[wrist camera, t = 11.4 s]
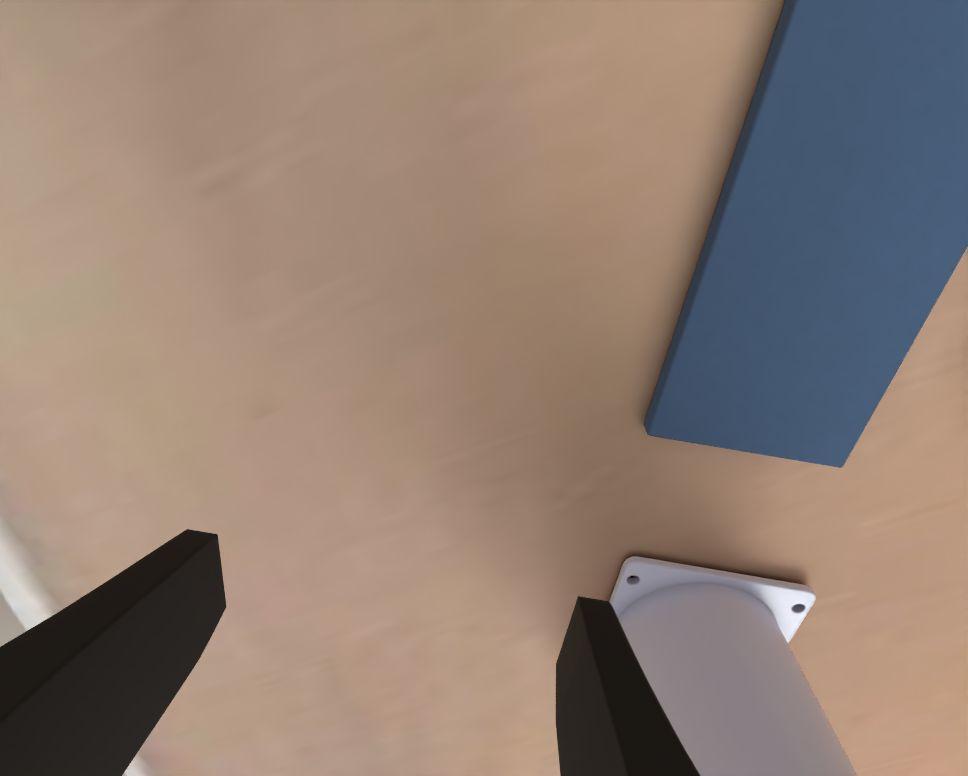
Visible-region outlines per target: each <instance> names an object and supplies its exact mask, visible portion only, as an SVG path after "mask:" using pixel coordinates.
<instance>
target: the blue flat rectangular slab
mask: <svg viewBox="0 0 968 776" xmlns="http://www.w3.org/2000/svg"><path fill="white" fill-rule="evenodd" d="M967 246H968V0H786V1H785V4H784V7H783V10H782V13H781V16H780V19H779V22H778V25H777V28H776V31H775V34H774V37H773V40H772V43H771V46H770V49H769V52H768V55H767V58H766V61H765V64H764V67H763V70H762V73H761V76H760V79H759V82H758V85H757V88H756V91H755V93H754V96H753V99H752V102H751V105H750V108H749V111H748V114H747V117H746V120H745V123H744V126H743V129H742V132H741V135H740V138H739V141H738V144H737V147H736V150H735V153H734V156H733V159H732V162H731V165H730V168H729V171H728V174H727V177H726V180H725V183H724V186H723V189H722V192H721V195H720V198H719V201H718V204H717V207H716V210H715V213H714V216H713V219H712V222H711V225H710V228H709V231H708V234H707V237H706V240H705V243H704V246H703V249H702V252H701V255H700V258H699V261H698V264H697V267H696V270H695V273H694V276H693V279H692V282H691V285H690V288H689V291H688V294H687V297H686V300H685V303H684V306H683V309H682V312H681V315H680V318H679V320H678V323H677V326H676V329H675V332H674V335H673V338H672V341H671V344H670V347H669V350H668V353H667V356H666V359H665V362H664V365H663V368H662V371H661V374H660V377H659V380H658V383H657V386H656V389H655V392H654V395H653V398H652V401H651V404H650V407H649V410H648V413H647V416H646V419H645V422H644V427H645V429H646V432H647V434H648V435H650V436H655V437H661V438H667V439H673V440H679V441H685V442H691V443H697V444H703V445H709V446H715V447H721V448H727V449H733V450H739V451H745V452H751V453H757V454H762V455H768V456H774V457H780V458H786V459H792V460H798V461H804V462H810V463H816V464H822V465H828V466H834V467H843V465H844V464H845V462H846V460H847V458H848V456H849V455H850V453H851V451H852V449H853V448H854V446H855V444H856V442H857V441H858V439H859V437H860V435H861V434H862V432H863V430H864V428H865V426H866V425H867V423H868V421H869V419H870V418H871V416H872V414H873V412H874V411H875V409H876V407H877V405H878V404H879V402H880V400H881V398H882V396H883V395H884V393H885V391H886V389H887V388H888V386H889V384H890V382H891V381H892V379H893V377H894V375H895V374H896V372H897V370H898V368H899V366H900V365H901V363H902V361H903V359H904V358H905V356H906V354H907V352H908V351H909V349H910V347H911V345H912V343H913V342H914V340H915V338H916V336H917V335H918V333H919V331H920V329H921V328H922V326H923V324H924V322H925V321H926V319H927V317H928V315H929V313H930V312H931V310H932V308H933V306H934V305H935V303H936V301H937V299H938V298H939V296H940V294H941V292H942V291H943V289H944V287H945V285H946V283H947V282H948V280H949V278H950V276H951V275H952V273H953V271H954V269H955V268H956V266H957V264H958V262H959V261H960V259H961V257H962V255H963V253H964V252H965V250H966V248H967Z"/></svg>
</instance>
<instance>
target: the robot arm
mask: <svg viewBox="0 0 968 776" xmlns="http://www.w3.org/2000/svg"><path fill="white" fill-rule="evenodd" d="M630 576H635V577H630ZM815 599H816V596H815V594H814V592H813V590H812V589H811V588H810V587H809V586H806V585H803V584H797V583H791V582H785V581H779V580H773V579H767V578H762V577H756V576H750V575H744V574H738V573H732V572H726V571H721V570H715V569H709V568H703V567H697V566H691V565H685V564H680V563H674V562H668V561H662V560H656V559H650V558H644V557H638V556H633V557H629V558H628V559H626V560H625V561H624V563H623V565H622V568H621V571H620V574H619V576H618V579H617V582H616V585H615V587H614V590H613V593H612V595H611V598H610V601H609V602H608V601H602V600H597V599H591V598H585V597H579V596H578V598H577V601H576V605H575V608H574V611H573V614H572V617H571V620H570V623H569V626H568V629H567V632H566V635H565V638H564V642H563V645H562V648H561V651H560V654H559V657H558V660H557V663H556V728H557V740H558V751H559V762H560V773H561V776H857V774H856V772H855V770H854V768H853V766H852V764H851V762H850V760H849V759H848V757H847V755H846V753H845V751H844V749H843V747H842V745H841V743H840V741H839V740H838V738H837V736H836V734H835V732H834V730H833V728H832V726H831V724H830V722H829V721H828V719H827V717H826V715H825V713H824V711H823V709H822V707H821V705H820V703H819V701H818V700H817V698H816V696H815V694H814V692H813V690H812V688H811V686H810V684H809V682H808V681H807V679H806V677H805V675H804V673H803V671H802V669H801V667H800V665H799V663H798V662H797V660H796V658H795V656H794V654H793V652H792V650H791V648H790V646H789V644H788V643H789V642H790V640H791V638H792V637H793V635H794V634H795V632H796V630H797V629H798V627H799V626H800V624H801V622H802V621H803V619H804V618H805V616H806V614H807V613H808V611H809V610H810V608H811V607H812V605H813V603H814V602H815ZM225 608H226V600H225V592H224V584H223V576H222V567H221V559H220V551H219V543H218V535H217V534H212V533H206V532H200V531H194V530H189V529H187V530H185V531H184V532H182V533H181V534H179V535H178V536H176V537H174V538H173V539H171V540H170V541H168V542H167V543H165V544H164V545H162V546H161V547H159V548H157V549H156V550H154V551H153V552H151V553H150V554H148V555H147V556H145V557H144V558H142V559H141V560H139V561H138V562H136V563H135V564H133V565H131V566H130V567H128V568H127V569H125V570H124V571H122V572H121V573H119V574H118V575H116V576H115V577H113V578H112V579H110V580H108V581H107V582H105V583H104V584H102V585H101V586H99V587H98V588H96V589H94V590H93V591H91V592H90V593H88V594H87V595H85V596H83V597H82V598H80V599H79V600H77V601H75V602H74V603H72V604H71V605H69V606H68V607H66V608H64V609H63V610H61V611H60V612H58V613H57V614H55V615H53V616H52V617H50V618H48V619H47V620H45V621H43V622H41V623H40V624H38V625H36V626H35V627H33V628H31V629H30V630H28V631H26V632H25V633H23V634H21V635H20V636H18V637H16V638H15V639H13V640H11V641H10V642H8V643H6V644H5V645H3V646H1V647H0V776H122V775H123V773H124V772H125V770H126V769H127V767H128V766H129V764H130V763H131V761H132V760H133V758H134V757H135V755H136V754H137V752H138V751H139V749H140V748H141V746H142V745H143V743H144V742H145V740H146V739H147V737H148V736H149V734H150V733H151V731H152V730H153V728H154V727H155V725H156V724H157V722H158V721H159V719H160V718H161V716H162V715H163V713H164V712H165V710H166V709H167V707H168V706H169V704H170V703H171V701H172V700H173V698H174V697H175V695H176V694H177V692H178V691H179V689H180V688H181V686H182V685H183V683H184V682H185V680H186V679H187V677H188V676H189V674H190V673H191V671H192V669H193V668H194V666H195V665H196V663H197V662H198V660H199V658H200V657H201V655H202V653H203V651H204V649H205V647H206V645H207V644H208V642H209V640H210V638H211V636H212V634H213V632H214V630H215V628H216V626H217V624H218V622H219V620H220V618H221V616H222V614H223V612H224V610H225Z"/></svg>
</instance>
